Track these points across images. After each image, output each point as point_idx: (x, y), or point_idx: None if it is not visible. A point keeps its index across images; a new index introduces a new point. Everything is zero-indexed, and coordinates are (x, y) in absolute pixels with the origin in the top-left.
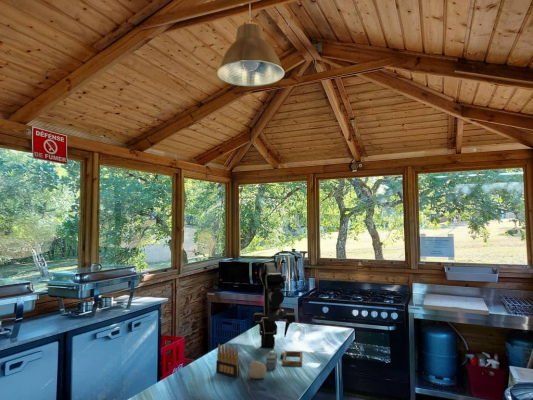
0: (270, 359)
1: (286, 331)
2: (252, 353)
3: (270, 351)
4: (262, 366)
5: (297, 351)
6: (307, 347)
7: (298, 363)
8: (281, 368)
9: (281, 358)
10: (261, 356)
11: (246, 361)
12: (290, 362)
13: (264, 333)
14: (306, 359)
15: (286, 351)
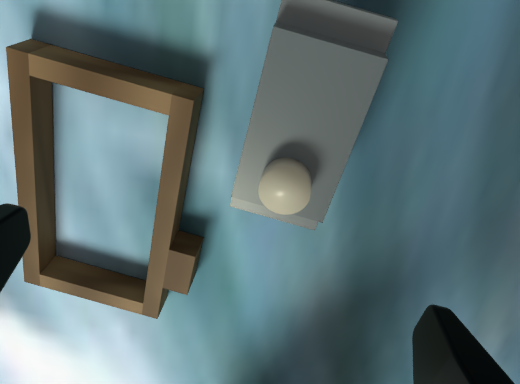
0: (334, 41)
1: None
2: (396, 363)
3: (301, 202)
4: None
5: (61, 290)
6: (20, 370)
7: (47, 51)
8: (222, 7)
9: (197, 236)
10: (344, 303)
11: (504, 234)
12: (120, 76)
13: (448, 368)
14: (6, 186)
15: (144, 305)
